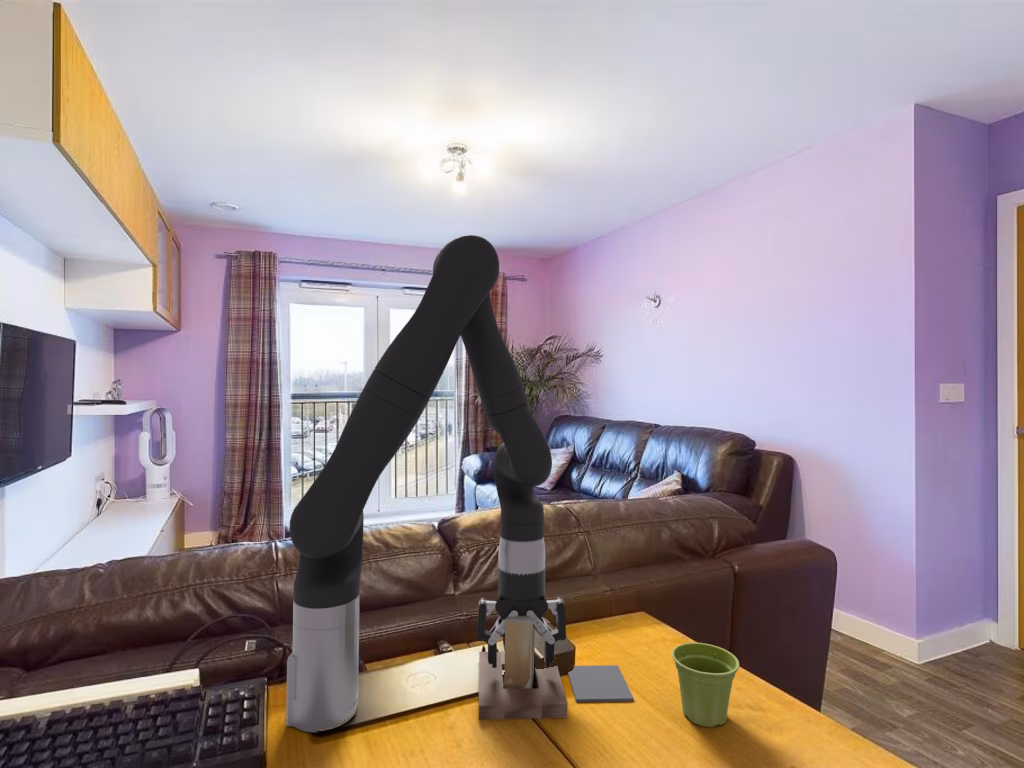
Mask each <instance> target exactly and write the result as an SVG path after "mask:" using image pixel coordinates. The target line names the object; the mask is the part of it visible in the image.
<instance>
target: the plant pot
mask: <svg viewBox="0 0 1024 768" xmlns="http://www.w3.org/2000/svg"><path fill="white" fill-rule="evenodd" d="M671 658H672V660H673V661H674V665H675V668H676V670H677V676H678V683H679V691H680V699H681V707H682V713H683V714H684V715H685V716H686V717H687V718H688V719H689V720H690V722H692V723H694V724H696V725H698V726H703V727H705V728H706V727H707V728H713V727H716V726H718V725H720V726H723V725H725V724H726V721H727V717H728V711H729V704H730V698H731V693H732V692H731V691H732V686H733V681H734V679H735V677H736V673H737V672H738V671H739V668H740V661H739V659H738V657H736V656H735V655H734V654H733V653H732V652H730V651H728V650H727V649H725V648H722V647H720V646H716V645H713V644H709V643H705V642H704V643H703V642H686V643H681V644H679V645H676V646H675V647H673V649H672V651H671Z"/></svg>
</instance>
